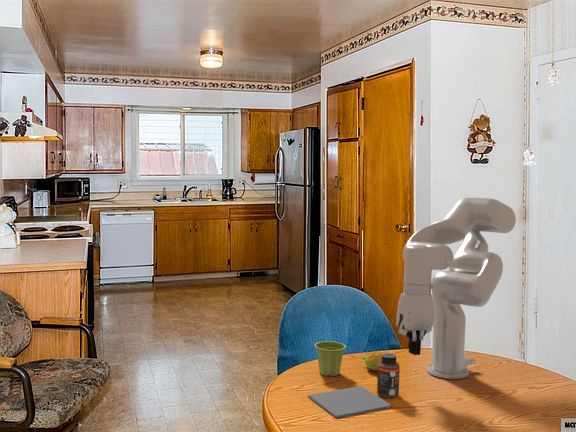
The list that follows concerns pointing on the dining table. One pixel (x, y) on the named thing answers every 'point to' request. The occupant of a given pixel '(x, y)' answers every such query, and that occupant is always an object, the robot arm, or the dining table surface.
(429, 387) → the dining table surface
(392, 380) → the supplement bottle
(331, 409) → the mat
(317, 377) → the dining table surface
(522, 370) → the dining table surface
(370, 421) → the dining table surface
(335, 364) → the plant pot
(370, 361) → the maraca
